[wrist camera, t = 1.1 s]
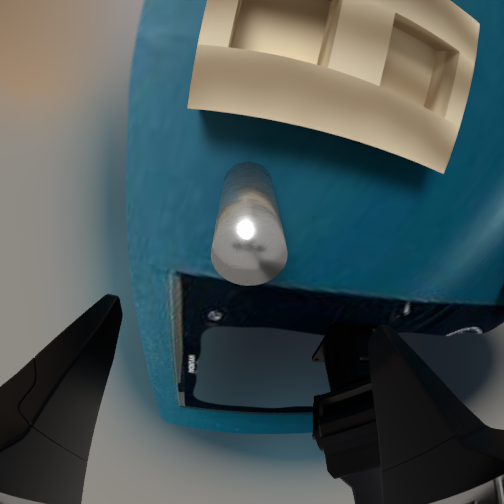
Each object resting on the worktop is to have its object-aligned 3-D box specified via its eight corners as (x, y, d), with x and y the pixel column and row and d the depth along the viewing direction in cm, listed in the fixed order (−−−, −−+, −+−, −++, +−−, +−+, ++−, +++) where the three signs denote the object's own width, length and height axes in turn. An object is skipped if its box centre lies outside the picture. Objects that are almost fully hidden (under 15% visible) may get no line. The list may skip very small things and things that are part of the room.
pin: (266, 209, 19) (277, 289, 13) (221, 202, 19) (208, 280, 12) (276, 166, 17) (296, 230, 11) (227, 158, 17) (215, 218, 11)
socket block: (421, 159, 17) (443, 174, 14) (197, 103, 15) (187, 108, 12) (453, 24, 10) (479, 23, 7) (232, -57, 8) (230, -77, 5)
